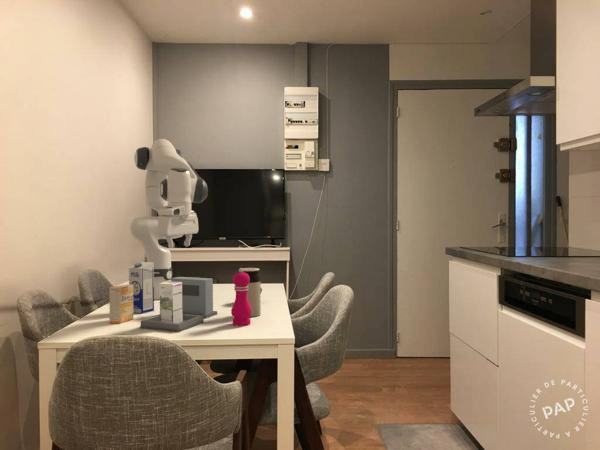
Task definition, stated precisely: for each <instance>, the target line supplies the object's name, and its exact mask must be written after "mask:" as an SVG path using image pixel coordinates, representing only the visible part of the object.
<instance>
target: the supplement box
mask: <svg viewBox="0 0 600 450" xmlns="http://www.w3.org/2000/svg"><path fill="white" fill-rule="evenodd" d="M108 291H109V324H123V323H125V322H127V321H130V320H134V313H133V285H129V283H128V284H126V283H125V284H119V285H115V286H110V287H109V290H108Z"/></svg>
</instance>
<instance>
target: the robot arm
mask: <svg viewBox="0 0 600 450" xmlns="http://www.w3.org/2000/svg"><path fill="white" fill-rule="evenodd" d="M133 161H134V164H135V166H136V168H137V169H138V170H141V171H146V174H145V185H144V186H145V187H144V190H145V203H146V205H147V207H148V208H150V209H151V210H152V209H153V210H154V211H156V212H157V215H158V216H142V217H141V216H140V217H136V218H134V219H133V220H132V222H130V226H129V230H130V234H131V236H133V238H134V239H136V240H137V241H138V242H140V244H141V245H142V246H143V248H144V250H145V255H146V262H152V263H154V301H155V300H157V301H158V300H159V301H160V287H159V284H160V283H163V282H167V281H171V278H173V268H172V253H171V251H170V249H173V248H175V245H176V244H175V242H174V241H173V239H178V238H182V237H183V236H185V240H184V241H183V245H184V246H185V247H188V246H190V245H191V240H192V238H193V235H194V234H198V233H199V219H198V215H197V213H196V212H195V210H192V203H194V204H201V203H203V202H204V201H205V200H206V199H207V197H209V196H208V195H209V189H208V184H207V183H206V181H205V180H204V179H203V178H202V177H201V176H200V175H199V174H198V173H197V171H196V169H195V168H194V167H193V165H192V164H191V162H189V161H187V160H186V159H184V156H183V153H182V151H181V150H179V149H178V148H177V149H176V148H175V146H174V145H173V144H172V143H171V141H170V140H168V139H167V138H159V139H156V140H155V141H153V143H152V145H151V146H150V147H149V146H143V147H139V148H137V149H136V150H135V153H134V157H133ZM159 240H166V242H167V245H168V247H165V246H162V245H160V243H159Z"/></svg>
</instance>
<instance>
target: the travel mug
mask: <svg viewBox="0 0 600 450" xmlns="http://www.w3.org/2000/svg"><path fill="white" fill-rule="evenodd" d="M243 269H244V271H243V272H244V273H247V274H248V275H249V277H250V282H249V283H248V285H247V286H248V290H247V299H248V302H249V304H250V306H251V309H252V313H251V315H250V316H249V318H254V317H258V316H261V315H262V314H261V312H262V311H261V309H262V308H261V294H260V287H261V276H260V274H259V273H260V268H258V267H244V268H243Z"/></svg>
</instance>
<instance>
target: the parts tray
mask: <svg viewBox="0 0 600 450" xmlns="http://www.w3.org/2000/svg"><path fill="white" fill-rule="evenodd" d="M182 317H183V322H181V323H169V322H160V314H158V315H155V316H152V317H148V318H145V319H142V320H140V329H148V330H155V331H156V330H157V331H167V332H175V333H180V332H182V331H185V330H189V329H190V328H192V327H193V328H194V327H196V326H198V325H202V324H203V323H204V318H203V316H200V315H188V314H182Z"/></svg>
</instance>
